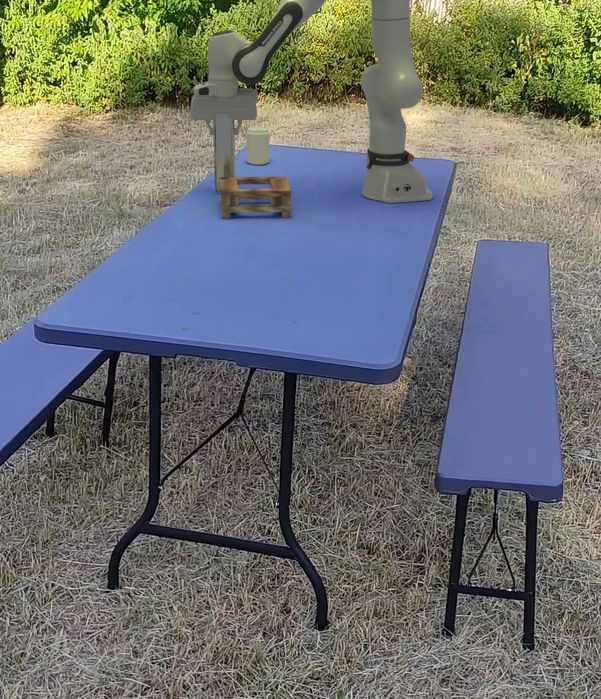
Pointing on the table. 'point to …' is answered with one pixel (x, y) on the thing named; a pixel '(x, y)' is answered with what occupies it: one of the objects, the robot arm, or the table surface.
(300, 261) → the table surface
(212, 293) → the table surface
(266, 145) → the beverage can
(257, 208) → the frame
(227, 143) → the silver metal cylinder
